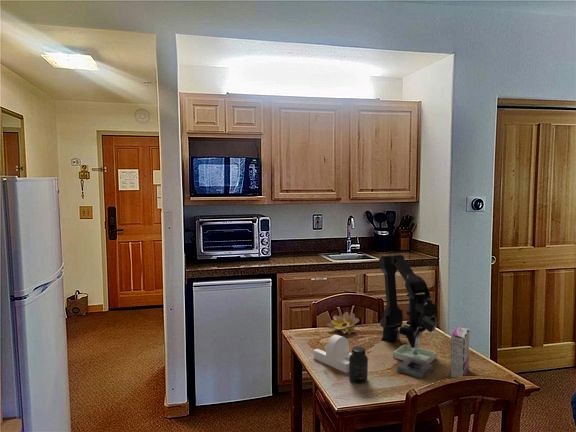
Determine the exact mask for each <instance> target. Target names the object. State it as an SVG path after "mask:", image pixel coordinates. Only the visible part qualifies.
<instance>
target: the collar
mask: <svg viewBox="0 0 576 432" xmlns="http://www.w3.org/2000/svg"><path fill="white" fill-rule="evenodd" d="M396 368H397V369H396V371H397V372H399V373H401V374H405V375H408V376H411V377H415V378H416V379H421V380H423V379H424V378H426V377H427V376H428V375H429V374H430V373H431V372H432V371H433V364H431V363H430V364H427V363H423V362H420V361H416V360H413V359H409V358H408V359H406V360H405V361H403V362H401V363H400V364H398V365H397V367H396Z"/></svg>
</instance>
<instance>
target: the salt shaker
mask: <svg viewBox="0 0 576 432" xmlns="http://www.w3.org/2000/svg"><path fill="white" fill-rule="evenodd" d="M417 333H420V334H419V335H417V336H416V341H415V347H414V348H412V347H411V345H410V344H409V345H410V353H411V354H412V355H419V348H420V343H421V341H420V340H421V338H420V335H421V331H420V330H417ZM421 336H422V335H421Z"/></svg>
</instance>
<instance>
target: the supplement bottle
mask: <svg viewBox="0 0 576 432" xmlns="http://www.w3.org/2000/svg"><path fill="white" fill-rule="evenodd" d="M351 348H352V349H351V353H352V354H351V355H350V357H349V372H348V379H349V381H350V382H351V383H354V384H356V385H357V384H359V385H360V384H361V385H363V384H365V383H366V382H367V381H368V377H369V376H368V375H369V374H368V372H369V368H368V366H369V365H368V364H369V363H368V362H369V360H368V358H369V357H367V355H366V348H365V347H363V346H358V345H356V346H353V347H351Z"/></svg>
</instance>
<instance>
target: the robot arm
mask: <svg viewBox="0 0 576 432" xmlns="http://www.w3.org/2000/svg"><path fill="white" fill-rule="evenodd" d="M378 263H379V267H380V270H381V272H382V273H383V276H384V289H385V301H386V303H385V304H386V307H385V308H384V309H383V316H382V318H381V319H380V321H379V325H380V327H382V337H381V339H380V340H381V341H385V342H389V343H392V344H394V343H396V342H397V341H399V340H400V339H401V338H400V335H403V336H405V337H406V339H407V340H408V343H409V345H411V347H412V348H414V347H415V341H416V336H417V335H419V334H420V333H417V330H420V331H421V335H420V339H421V338H422V334H423V332H425V331H426V330H427V332H429V333H433V331H435V330H436V327H437V326H438V325H439V324H438V320H437V319H438V317H436V316H435V315H436V313H437V307H436V305H435V304H434V303H433V300H432V299H431V292H430V290H429V287H428V285H427V282H426V281H425V280H424V279H423V278H422V277H421V276H419V275H418V274H415V272H414V270H413V269H412V268H411V267H410V265H409V264H408V262H407V261H406V259H405V256H404V255H402V254H393V255H392V254H390V255H385V254H384V255H381V256H380V258H379V259H378ZM397 271H398V272H399V274H400V275H401V277H402V279H403V280H404V286H405V289H406V291H407V294H406V297H408V311H406V315H407V317H408V319H407V321H406V323H405V324H404V325H403V323H404V317H403V310H402V309H400V308H399V306H398V297H397V296H398V293H397V280H396V273H397Z"/></svg>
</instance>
